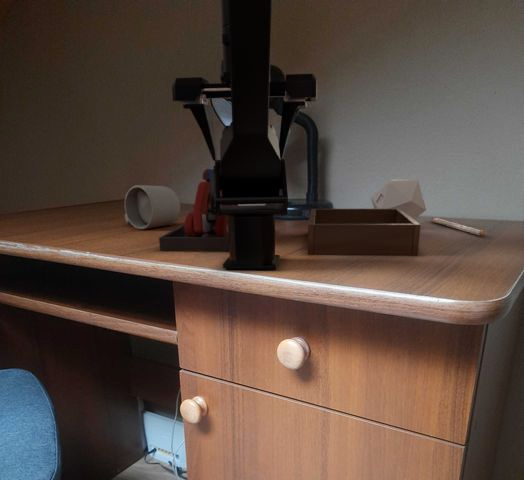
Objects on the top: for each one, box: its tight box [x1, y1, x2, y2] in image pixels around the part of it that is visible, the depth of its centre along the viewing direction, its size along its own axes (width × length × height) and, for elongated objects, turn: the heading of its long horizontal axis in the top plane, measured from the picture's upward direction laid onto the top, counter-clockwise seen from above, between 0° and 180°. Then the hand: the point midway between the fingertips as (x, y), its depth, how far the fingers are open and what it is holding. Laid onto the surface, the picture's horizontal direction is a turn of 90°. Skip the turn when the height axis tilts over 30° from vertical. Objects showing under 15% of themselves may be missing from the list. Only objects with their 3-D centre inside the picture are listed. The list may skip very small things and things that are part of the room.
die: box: [370, 178, 427, 221], centre depth 88 cm, size 8×9×10 cm
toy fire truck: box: [184, 168, 239, 237], centre depth 77 cm, size 7×12×10 cm, turn 155°
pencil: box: [430, 217, 488, 236], centre depth 86 cm, size 1×19×1 cm, turn 7°
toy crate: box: [307, 208, 422, 256], centre depth 74 cm, size 19×15×4 cm
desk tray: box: [158, 223, 229, 252], centre depth 79 cm, size 19×13×2 cm
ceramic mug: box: [124, 184, 182, 231], centre depth 93 cm, size 11×8×8 cm
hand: (247, 160), depth 69 cm, fingers open, 9 cm apart
